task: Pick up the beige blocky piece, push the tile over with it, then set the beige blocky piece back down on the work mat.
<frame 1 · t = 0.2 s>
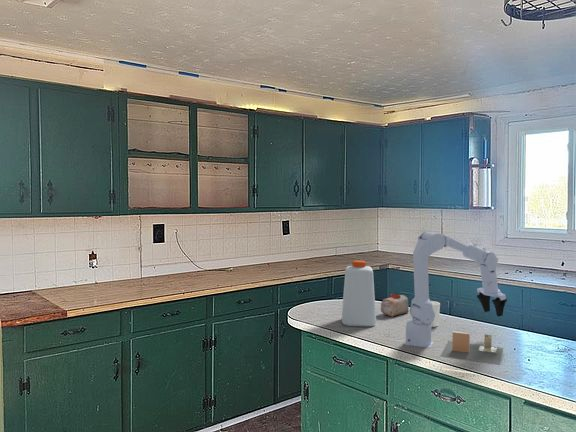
hand: (493, 313, 204), 10 cm above the worktop, tool pointing down, fingers open, 7 cm apart
food item: (394, 314, 245), on the worktop
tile: (460, 351, 189), resting on work mat
beige blocky piece: (487, 350, 189), resting on work mat
white cup: (430, 325, 226), on the worktop
work mat: (472, 353, 188), on the worktop
plastic bottle: (358, 322, 230), on the worktop
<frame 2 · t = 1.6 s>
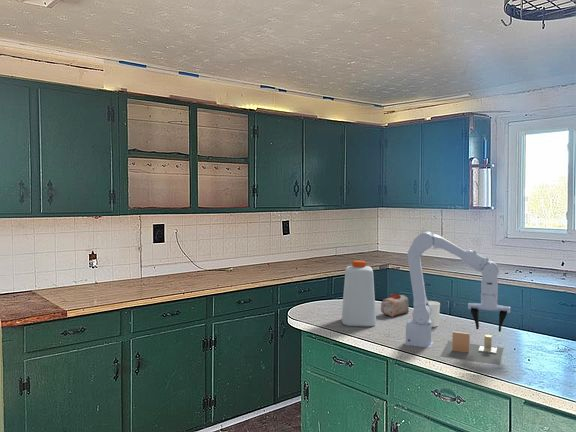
hand: (488, 329, 189), 8 cm above the worktop, tool pointing down, fingers open, 7 cm apart
nothing on the worktop moved.
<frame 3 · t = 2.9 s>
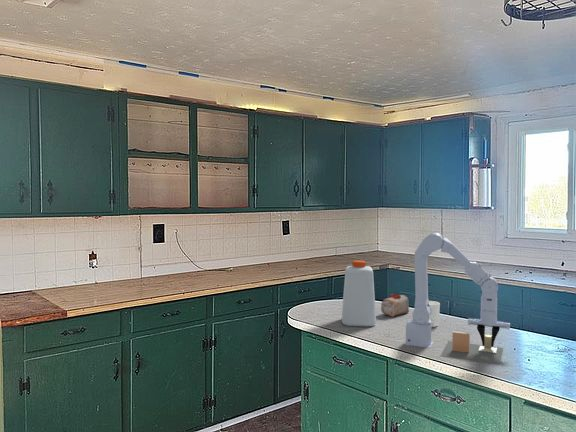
hand: (488, 345, 189), 2 cm above the worktop, tool pointing down, fingers closed on beige blocky piece, 2 cm apart
beige blocky piece: (487, 350, 189), resting on work mat, touching gripper
everything else where it was.
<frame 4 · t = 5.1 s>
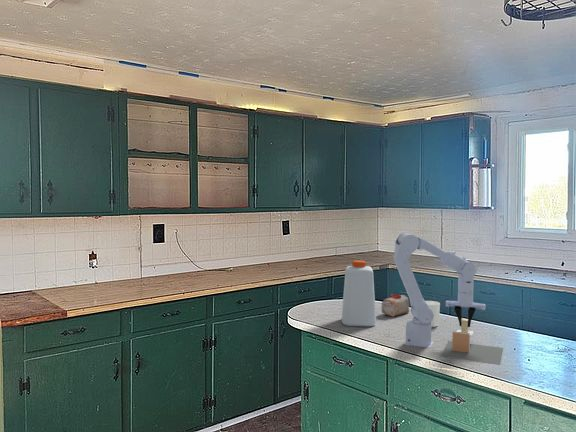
hand: (464, 326, 198), 7 cm above the worktop, tool pointing down, fingers closed on beige blocky piece, 2 cm apart
beige blocky piece: (464, 333, 199), point 4 cm above the worktop, touching gripper
everything else where it was.
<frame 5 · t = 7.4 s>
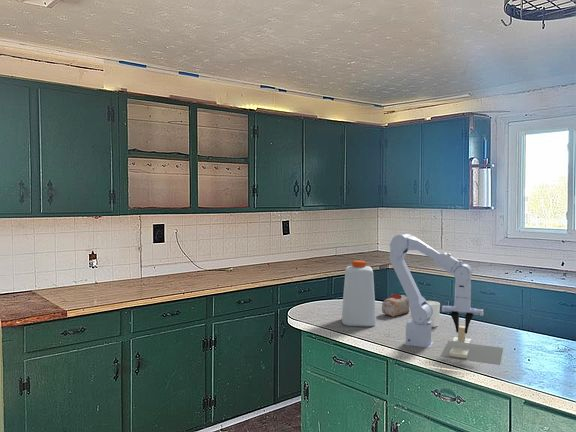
hand: (461, 332, 190), 7 cm above the worktop, tool pointing down, fingers closed on beige blocky piece, 2 cm apart
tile: (460, 349, 188), point 1 cm above the worktop, tilted 90°, touching work mat
beige blocky piece: (461, 341, 191), point 4 cm above the worktop, touching gripper
everything else where it was.
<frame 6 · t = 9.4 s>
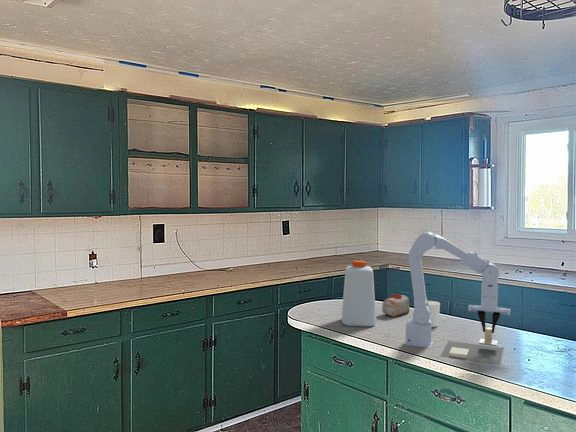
hand: (488, 331, 190), 7 cm above the worktop, tool pointing down, fingers closed on beige blocky piece, 2 cm apart
beige blocky piece: (488, 343, 190), point 3 cm above the worktop, touching gripper
everything else where it was.
when the fingers open (3 cm above the worktop, at t = 10.3 s): beige blocky piece stays where it is, resting on work mat.
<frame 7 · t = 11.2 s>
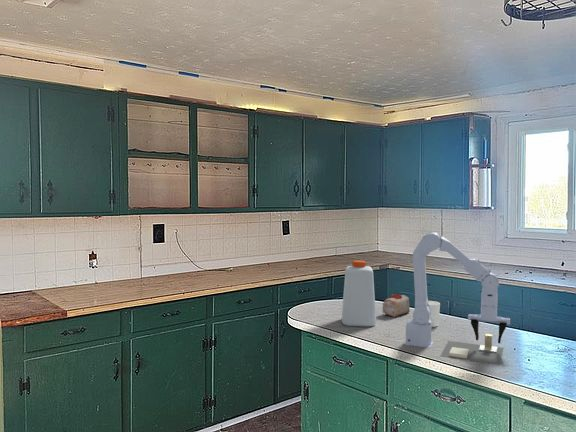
hand: (488, 341, 190), 4 cm above the worktop, tool pointing down, fingers open, 7 cm apart
beige blocky piece: (488, 349, 191), resting on work mat
everything else where it was.
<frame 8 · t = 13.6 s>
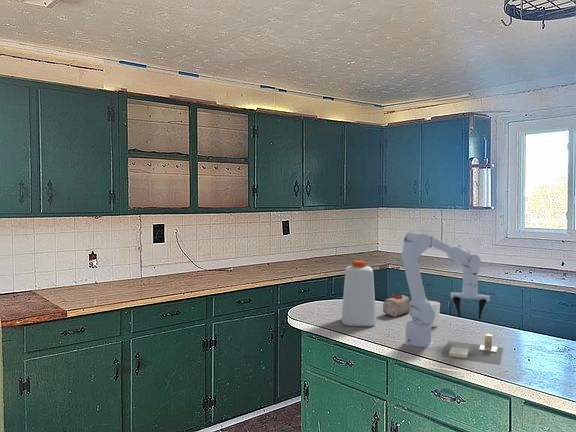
hand: (469, 317, 203), 9 cm above the worktop, tool pointing down, fingers open, 7 cm apart
nothing on the worktop moved.
at the end: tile tilted 90°; the gripper is holding nothing; beige blocky piece point 0.5 cm above the worktop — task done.
